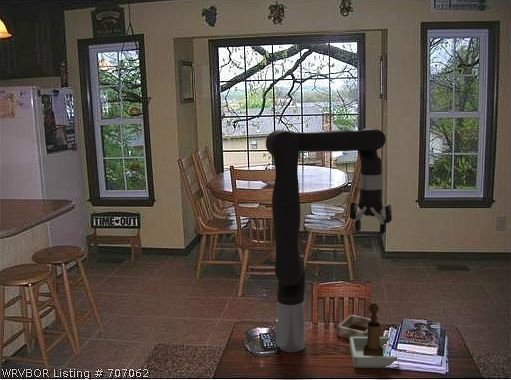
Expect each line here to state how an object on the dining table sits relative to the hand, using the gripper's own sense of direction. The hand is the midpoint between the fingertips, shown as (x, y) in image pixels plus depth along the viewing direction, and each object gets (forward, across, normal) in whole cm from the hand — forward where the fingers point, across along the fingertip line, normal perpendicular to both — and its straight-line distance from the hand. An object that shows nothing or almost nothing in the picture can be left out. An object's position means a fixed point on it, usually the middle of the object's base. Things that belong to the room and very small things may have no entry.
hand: (370, 232), depth 183 cm
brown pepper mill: (+38, +7, -15) cm, 41 cm away
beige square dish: (+38, -4, -1) cm, 38 cm away
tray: (+38, +7, -15) cm, 42 cm away
